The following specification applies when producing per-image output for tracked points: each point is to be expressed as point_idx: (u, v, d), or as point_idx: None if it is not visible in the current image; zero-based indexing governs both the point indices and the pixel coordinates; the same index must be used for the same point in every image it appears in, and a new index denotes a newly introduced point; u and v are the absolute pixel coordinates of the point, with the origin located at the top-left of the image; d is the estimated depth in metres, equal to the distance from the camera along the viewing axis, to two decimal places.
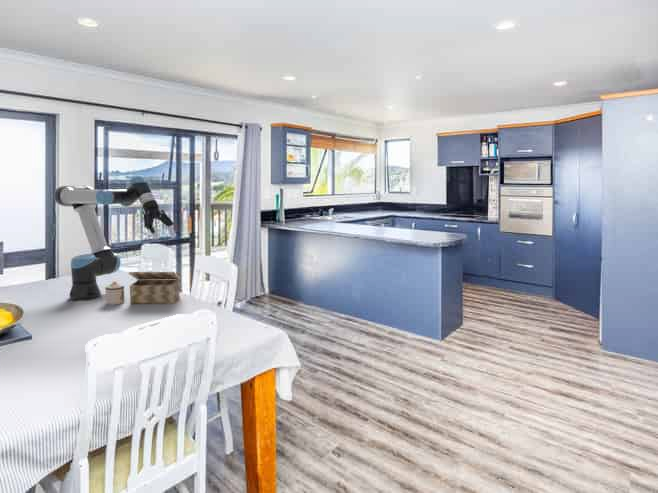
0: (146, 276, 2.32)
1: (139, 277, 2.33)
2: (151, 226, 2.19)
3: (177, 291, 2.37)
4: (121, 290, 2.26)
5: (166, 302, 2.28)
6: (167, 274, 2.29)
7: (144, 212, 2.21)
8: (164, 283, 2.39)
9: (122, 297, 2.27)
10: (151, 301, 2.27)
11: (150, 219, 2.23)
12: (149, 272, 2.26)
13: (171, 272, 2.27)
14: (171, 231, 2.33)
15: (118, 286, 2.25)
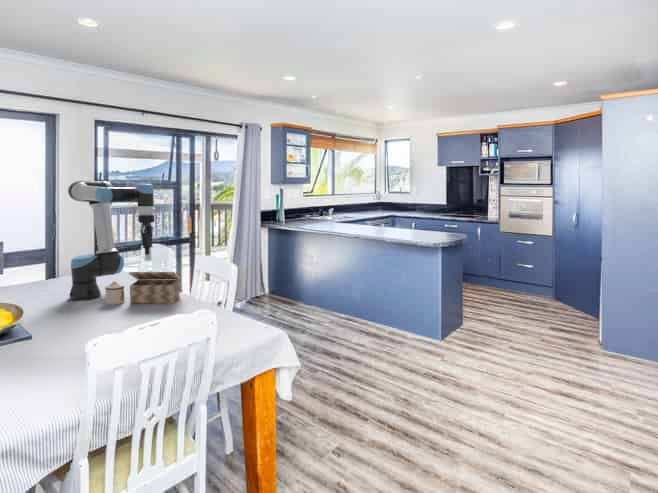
0: (146, 276, 2.32)
1: (139, 277, 2.33)
2: (148, 247, 2.18)
3: (177, 291, 2.37)
4: (121, 290, 2.26)
5: (166, 302, 2.28)
6: (167, 274, 2.29)
7: (143, 232, 2.12)
8: (164, 283, 2.39)
9: (122, 297, 2.27)
10: (151, 301, 2.27)
11: None
12: (149, 272, 2.26)
13: (171, 272, 2.27)
14: None
15: (118, 286, 2.25)
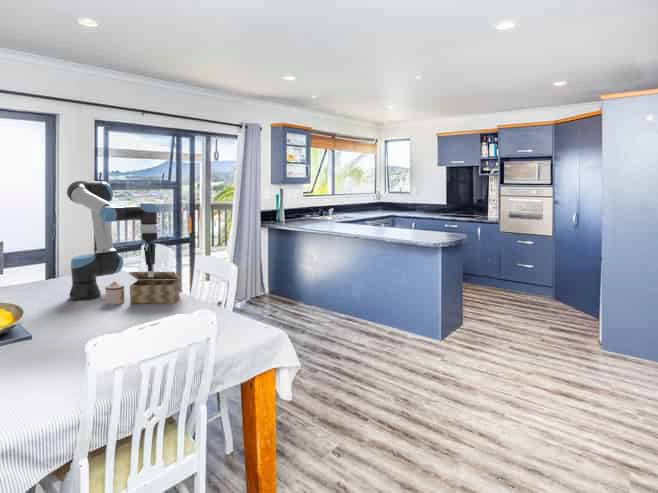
0: (146, 276, 2.32)
1: (139, 277, 2.33)
2: (151, 264, 2.23)
3: (177, 291, 2.37)
4: (121, 290, 2.26)
5: (166, 302, 2.28)
6: (167, 274, 2.29)
7: (146, 249, 2.17)
8: (164, 283, 2.39)
9: (122, 297, 2.27)
10: (151, 301, 2.27)
11: None
12: None
13: (171, 272, 2.27)
14: None
15: (118, 286, 2.25)
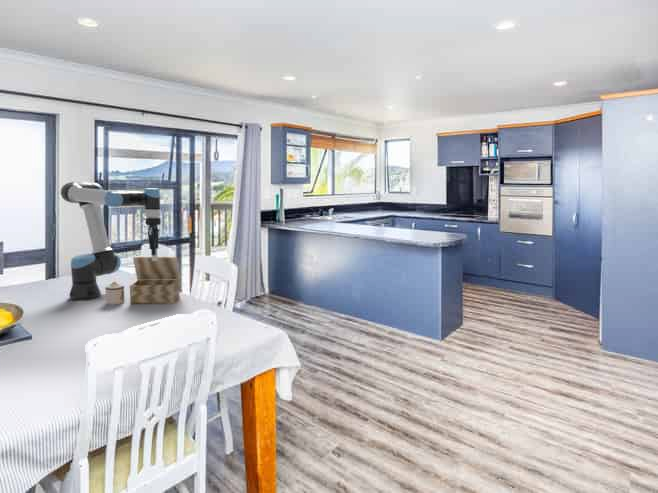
0: (148, 268, 2.35)
1: (140, 271, 2.36)
2: (155, 249, 2.30)
3: (177, 291, 2.37)
4: (121, 290, 2.26)
5: (166, 302, 2.28)
6: (170, 261, 2.34)
7: (150, 234, 2.24)
8: (164, 283, 2.39)
9: (122, 297, 2.27)
10: (151, 301, 2.27)
11: None
12: None
13: (174, 257, 2.34)
14: None
15: (118, 286, 2.25)
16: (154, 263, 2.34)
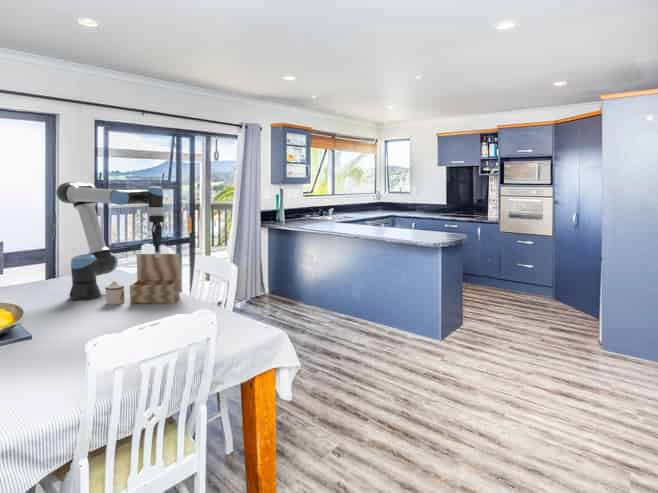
0: (150, 266, 2.38)
1: (142, 270, 2.38)
2: (158, 245, 2.36)
3: (177, 291, 2.37)
4: (121, 290, 2.26)
5: (166, 302, 2.28)
6: (172, 258, 2.39)
7: (153, 231, 2.30)
8: (164, 283, 2.39)
9: (122, 297, 2.27)
10: (151, 301, 2.27)
11: None
12: None
13: None
14: None
15: (118, 286, 2.25)
16: (156, 260, 2.38)
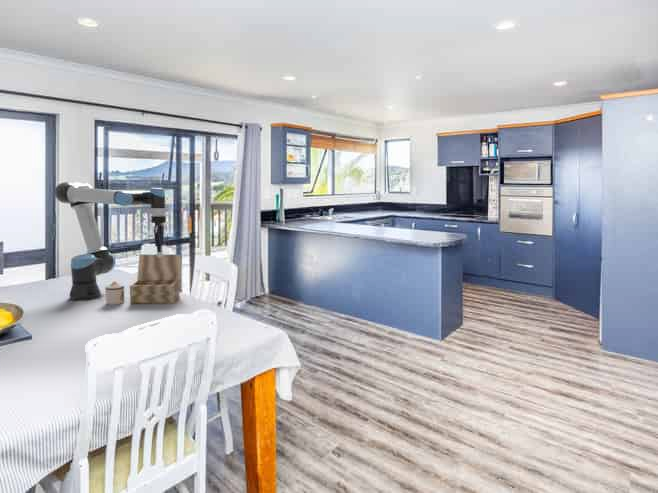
0: (151, 266, 2.41)
1: (143, 270, 2.40)
2: (160, 246, 2.40)
3: (177, 291, 2.37)
4: (121, 290, 2.26)
5: (166, 302, 2.28)
6: (174, 258, 2.43)
7: (156, 231, 2.34)
8: (164, 283, 2.39)
9: (122, 297, 2.27)
10: (151, 301, 2.27)
11: None
12: None
13: None
14: None
15: (118, 286, 2.25)
16: (158, 261, 2.42)
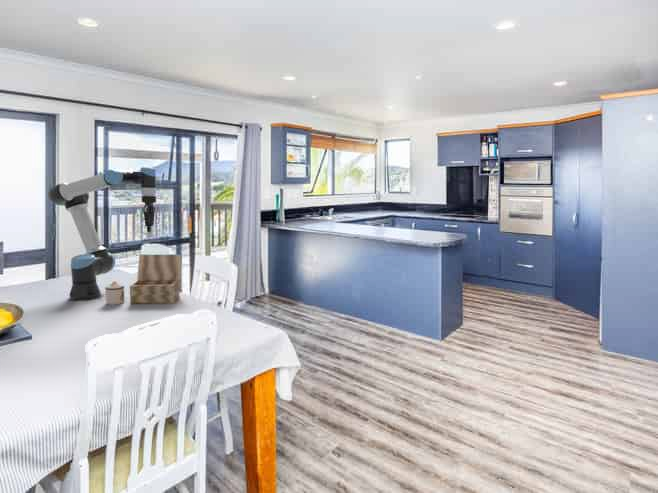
0: (151, 266, 2.41)
1: (143, 270, 2.40)
2: (150, 226, 2.40)
3: (177, 291, 2.37)
4: (121, 290, 2.26)
5: (166, 302, 2.28)
6: (174, 258, 2.43)
7: (145, 211, 2.33)
8: (164, 283, 2.39)
9: (122, 297, 2.27)
10: (151, 301, 2.27)
11: None
12: None
13: None
14: None
15: (118, 286, 2.25)
16: (158, 261, 2.42)
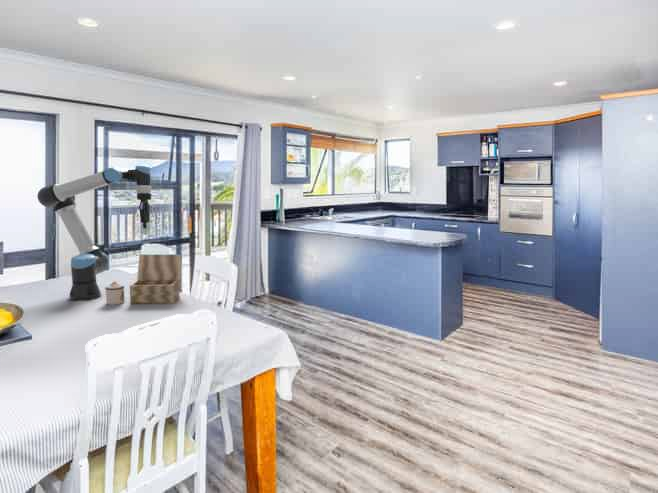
0: (151, 266, 2.41)
1: (143, 270, 2.40)
2: None
3: (177, 291, 2.37)
4: (121, 290, 2.26)
5: (166, 302, 2.28)
6: (174, 258, 2.43)
7: (141, 207, 2.40)
8: (164, 283, 2.39)
9: (122, 297, 2.27)
10: (151, 301, 2.27)
11: None
12: None
13: None
14: None
15: (118, 286, 2.25)
16: (158, 261, 2.42)
